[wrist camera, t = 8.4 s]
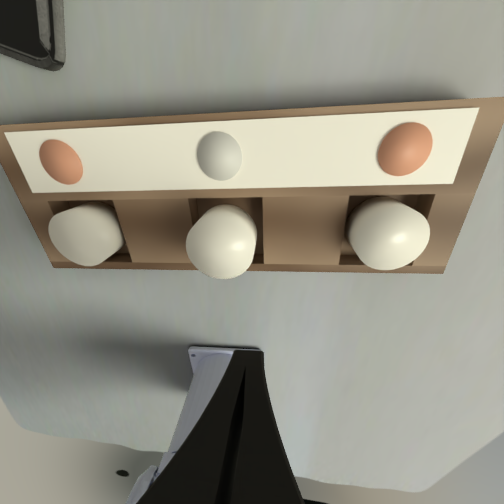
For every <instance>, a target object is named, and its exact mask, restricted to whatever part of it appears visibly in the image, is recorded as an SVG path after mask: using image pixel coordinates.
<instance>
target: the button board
mask: <svg viewBox="0 0 504 504" xmlns="http://www.w3.org/2000/svg"><path fill="white" fill-rule="evenodd" d="M479 107H480V108H479ZM460 108H479V111H478V113H477V116H476V119H475V122H474V125H473V128H472V131H471V133H470V136H469V139H468V142H467V145H466V148H465V151H464V153H463V156H462V159H461V162H460V165H459V168H458V171H457V174H456V176H455V179H454V182H453V184H420V185H374V186H328V187H282V188H237V189H191V190H145V191H100V192H54V193H32V191H31V189H30V186H29V184H28V182H27V180H26V178H25V176H24V174H23V172H22V170H21V167H20V165H19V163H18V161H17V159H16V157H15V155H14V153H13V151H12V148H11V146H10V144H9V142H8V140H7V138H6V136H5V134H4V132H21V131H40V130H59V129H79V128H98V127H117V126H136V125H155V124H174V123H193V122H212V121H231V120H250V119H269V118H288V117H308V116H327V115H346V114H365V113H384V112H403V111H422V110H441V109H460ZM503 123H504V97H492V98H474V99H456V100H438V101H421V102H403V103H385V104H367V105H349V106H332V107H314V108H296V109H278V110H260V111H242V112H225V113H207V114H189V115H171V116H153V117H136V118H118V119H100V120H82V121H64V122H47V123H29V124H11V125H0V163H1V165H2V167H3V169H4V171H5V173H6V175H7V177H8V179H9V181H10V183H11V185H12V187H13V188H14V190H15V192H16V194H17V196H18V198H19V200H20V202H21V204H22V206H23V208H24V210H25V212H26V214H27V216H28V218H29V220H30V222H31V224H32V226H33V228H34V230H35V232H36V234H37V236H38V238H39V240H40V242H41V244H42V246H43V248H44V250H45V252H46V254H47V256H48V258H49V260H50V262H51V264H52V266H53V268H91V269H158V270H198V269H197V268H196V267H195V266H194V265H193V263H192V262H191V261H190V259H189V257H188V254H187V251H186V238H187V235H188V233H189V231H190V230H191V228H192V227H193V226H194V225H195V224H196V222H197V221H198V220H199V219H200V218H201V217H202V216H203V215H204V214H205V213H206V212H207V211H208V210H209V209H211V208H212V207H215V206H217V205H224V204H227V205H233V206H237V207H239V208H241V209H243V210H244V211H245V212H247V213H248V214H249V215H250V216H251V218H252V219H253V221H254V223H255V225H256V229H257V240H256V245H255V251H254V256H253V260H252V263H251V265H250V266H249V268H248V269H247V270H246V271H293V272H360V273H427V274H443V273H444V270H445V268H446V265H447V263H448V260H449V258H450V255H451V253H452V250H453V248H454V245H455V243H456V240H457V238H458V235H459V233H460V230H461V228H462V225H463V223H464V220H465V218H466V215H467V213H468V210H469V208H470V205H471V203H472V200H473V198H474V195H475V193H476V190H477V188H478V185H479V183H480V180H481V178H482V175H483V173H484V170H485V168H486V165H487V163H488V160H489V158H490V155H491V153H492V150H493V148H494V145H495V143H496V140H497V138H498V135H499V133H500V130H501V128H502V125H503ZM375 197H390V198H393V199H395V200H397V201H399V202H401V203H403V204H405V205H406V206H408V207H410V208H412V209H414V210H415V211H417V212H419V213H420V214H422V215H423V216H424V217H425V218H426V220H427V222H428V224H429V227H430V237H429V241H428V244H427V246H426V248H425V249H424V251H423V252H422V253H421V254H420V255H419V256H418V257H417V258H416V259H415V260H414V261H412V262H411V263H409V264H407V265H405V266H403V267H400V268H397V269H393V270H377V269H374V268H371V267H369V266H367V265H365V264H364V263H363V262H362V261H361V260H360V258H359V257H358V255H357V254H356V252H355V251H354V249H353V248H352V246H351V245H350V243H349V242H348V240H347V238H346V235H345V224H346V221H347V218H348V216H349V215H350V213H351V212H352V211H353V210H354V209H355V208H356V207H357V206H358V205H359V204H361V203H362V202H364V201H366V200H368V199H371V198H375ZM88 202H101V203H104V204H107V205H109V206H111V207H112V208H114V209H115V210H116V212H117V215H118V219H119V222H120V225H121V228H122V231H123V234H124V237H125V241H126V244H125V245H124V246H123V247H122V248H121V249H119V250H118V251H117V252H115V253H114V254H113V255H111V256H110V257H108V258H107V259H106V260H104V261H103V262H102V263H100V264H98V265H95V266H83V265H79V264H77V263H74V262H72V261H70V260H69V259H67V258H66V257H64V256H63V255H62V254H61V253H60V252H59V251H58V250H57V249H56V247H55V246H54V244H53V243H52V241H51V238H50V236H49V231H48V227H49V222H50V220H51V218H52V217H53V216H55V215H56V214H58V213H61V212H63V211H66V210H69V209H72V208H74V207H77V206H80V205H83V204H85V203H88Z"/></svg>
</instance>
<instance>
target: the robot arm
mask: <svg viewBox="0 0 504 504" xmlns="http://www.w3.org/2000/svg"><path fill="white" fill-rule="evenodd" d="M188 353H189V358H190V362H191V366H192V370H193V374H194V376H193V379H192V382H191V385H190V388H189V391H188V394H187V397H186V400H185V403H184V406H183V409H182V411H181V414H180V417H179V420H178V423H177V426H176V429H175V432H174V435H173V438H172V441H171V444H170V447H169V450H168V452H164V454H163V457H162V460H161V463H160V466H159V468H158V467H157V466H153V465H152V466H150V467H149V468H148V470H146V471H145V472H144V473H142V474H141V475H140V476H139V478H138V479H137V481H136V483H135V485H134V487H133V489H132V491H131V493H130V495H129V497H128V500H127V502H126V504H305V503H304V501H303V498H302V496H301V493H300V491H299V488H298V485H297V483H296V480H295V477H294V475H293V472H292V470H291V467H290V464H289V461H288V458H287V455H286V452H285V449H284V446H283V443H282V440H281V437H280V434H279V431H278V427H277V424H276V420H275V417H274V413H273V410H272V406H271V402H270V397H269V393H268V388H267V383H266V377H265V371H264V352H262V351H261V350H255V349H235V348H215V347H195V346H192V347H190V348H189V350H188Z"/></svg>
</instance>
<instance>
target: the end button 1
mask: <svg viewBox="0 0 504 504" xmlns="http://www.w3.org/2000/svg"><path fill="white" fill-rule="evenodd" d="M48 231H49V236H50V238H51V241H52V243H53V244H54V246H55V247H56V249H57V250H58V251H59V252H60V253H61V254H62V255H63V256H64V257H66V258H67V259H69V260H70V261H72V262H74V263H77V264H79V265H83V266H95V265H98V264H100V263H102V262H103V261H104V260H106V259H107V258H108V257H110V256H111V255H113V254H114V253H115V252H117V251H118V250H119V249H121V248H122V247H123V246H124V245H125V244H126V241H125V237H124V234H123V231H122V228H121V225H120V222H119V219H118V215H117V212H116V210H115V209H114V208H112V207H111V206H109V205H107V204H104V203H101V202H88V203H85V204H83V205H80V206H77V207H74V208H72V209H69V210H66V211H63V212H61V213H58V214H56V215H55V216H53V217H52V218H51V220H50V222H49V227H48Z"/></svg>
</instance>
